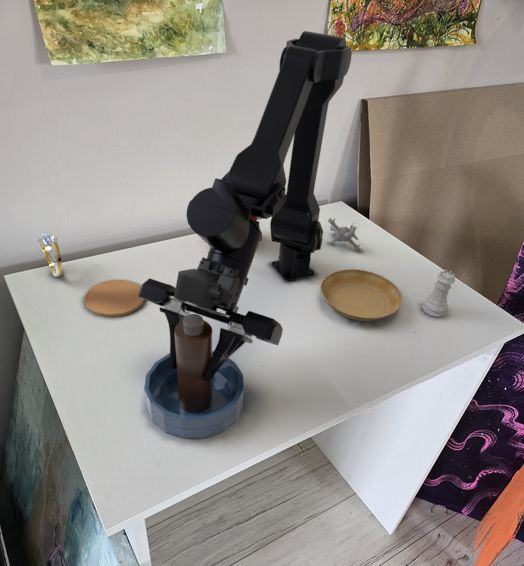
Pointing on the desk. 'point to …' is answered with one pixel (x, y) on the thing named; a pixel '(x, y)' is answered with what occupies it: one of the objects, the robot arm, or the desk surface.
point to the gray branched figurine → (344, 234)
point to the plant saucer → (360, 294)
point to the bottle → (193, 363)
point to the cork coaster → (114, 298)
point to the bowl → (186, 424)
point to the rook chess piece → (439, 295)
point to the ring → (51, 253)
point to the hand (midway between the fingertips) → (189, 374)
